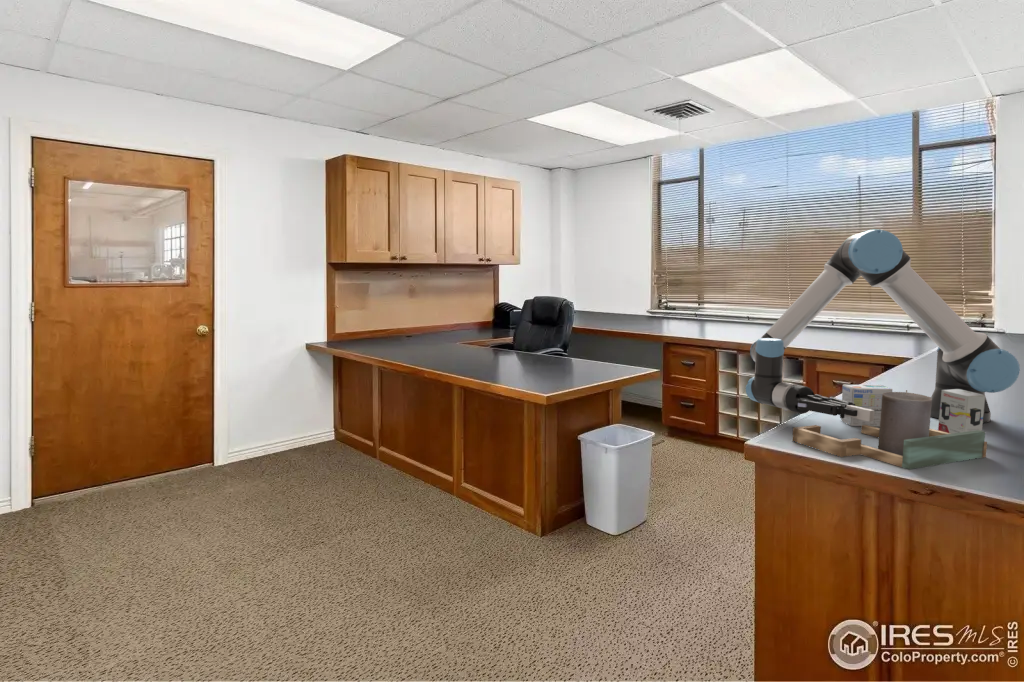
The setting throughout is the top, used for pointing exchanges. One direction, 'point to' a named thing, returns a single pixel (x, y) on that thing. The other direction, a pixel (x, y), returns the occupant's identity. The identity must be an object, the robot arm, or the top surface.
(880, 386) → the light bulb box
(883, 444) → the pillar candle
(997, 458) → the top surface
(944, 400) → the ink box
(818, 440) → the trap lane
